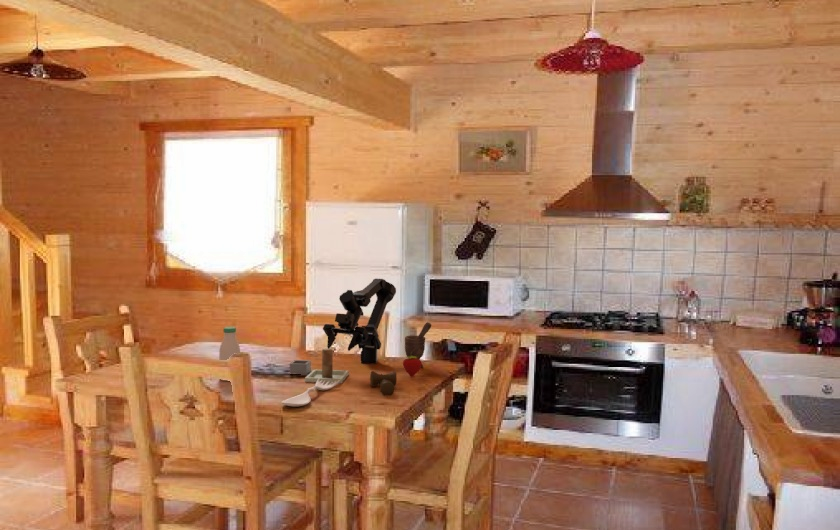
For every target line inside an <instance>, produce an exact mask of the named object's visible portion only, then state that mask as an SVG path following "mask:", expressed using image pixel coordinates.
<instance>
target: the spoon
mask: <svg viewBox="0 0 840 530" xmlns="http://www.w3.org/2000/svg"><path fill="white" fill-rule="evenodd" d="M319 381H320V378H319V379H318V380H317V382H316V383H315V384H314V385H313V386H312V387H308V388H306V391H304V392H302V393H301V394H298V395H295V396H292V397H289V398H287V399H286V398H285V399H284V400H281V401H280V403H281V404H282V405H284V406H287V407H292V408H296V407H298V408H299V407H303V406H306V405H308V404H309V403H310V402H311V401H312V399H311V397H310V393H311V392H315V391H316V390H318V391H328V390H330V389H332V388H334V387H335V386H337V385H339V383H340V380H339V381H337V382H336V381H335V382H334V383H333V382H331V383H329V382H327V383H325V381H324V382H323V383H322V381H323V380H321V381H320V382H319Z"/></svg>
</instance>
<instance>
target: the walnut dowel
mask: <svg viewBox="0 0 840 530" xmlns="http://www.w3.org/2000/svg"><path fill="white" fill-rule="evenodd" d="M321 350H322V351H321V357H322V358H321V370H322V378H333V370H334V369H333V368H334V367H333V362H334V361H333V359H334V358H333V357H334V356H333V353H334V350H333V349H332V348H329V349H328V348H322V349H321Z"/></svg>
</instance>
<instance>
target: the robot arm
mask: <svg viewBox="0 0 840 530" xmlns="http://www.w3.org/2000/svg"><path fill="white" fill-rule="evenodd" d="M396 293H397V287H395V285H394V284H393V283H392V282H391V283H390V282H388V281H387V280H386V279H384V278H373V280H372V281H371V282H370V283H369V284H368V285H367V286H365V287H364V288H363V289H362V290H357V291H354V292H353V290H352V289H347V290H346V291H344V292H342V293H341V294H340V295H339V302H340V303H341V305H342V307H343V309H344V310H345V311H346V313H336V314H335V318H334V322H335V323H337V326H338V327H336V326H335V324H332V323H325V324H324V325H323V327H322V330H323V332H324V333H325V335H326V336H327V343H326V344H327V345H326V346H327V347H326V348H327V349H331V347H332V345H333V344H334V343H335V341H336V339H337V338H336V337H337V336H338V334H343V335H348V336H349V335H350V336H352V338H351V340H350V342H349V344H348V347H347V350H348V352H350V351H351V350H353V348H355V347H356V346H357V347H358V349H361V351H360V364H371V363H375V364H377V363H378V361H379V359H378V350H380V349H381V347H382V342H381V340H380V339H379V332H378V329H379V327H380V324H381V321H382V318H383V315H384V313H385V311H386V307H387V305H388V304H389V303H390V302H391V301H392V300H393V299H394V297H395V295H396ZM375 295H376V301H375V304H374V306H373V308H372V311H371V314H370V316H369V319H368V322H367V324H366V325H362V326H359V320H360V317H363V316H365V315H364V312H363V308H364V307H365V308H367V307H368V305H370V304H371V301H372V300H371V299H372V297H374V296H375Z"/></svg>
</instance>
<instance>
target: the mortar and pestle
mask: <svg viewBox="0 0 840 530" xmlns="http://www.w3.org/2000/svg"><path fill="white" fill-rule="evenodd" d="M431 328H432V323H430V322H428V321H427V322H425V324H424V325H423V326H422V328H421V331H420V332H419V334H418V335H412V334H411V335H406V336H405V337H404V351H405V354H406V358H408V356H410V357H411V356H416V357H417V359H419V360H420V361H421V358H422V357H423V356H424V352H425V348H426V347H425V346H426V337H425V335H426V334H427V333H428V332H429V330H430V329H431ZM411 352H412V353H411ZM421 368H422V369H423V368H424V367H423V364H422V365H421Z"/></svg>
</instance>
